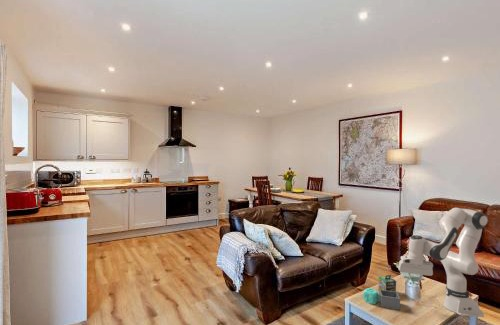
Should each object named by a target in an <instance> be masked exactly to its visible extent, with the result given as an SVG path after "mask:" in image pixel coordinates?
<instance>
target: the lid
mask: <svg viewBox="0 0 500 325" xmlns="http://www.w3.org/2000/svg"><path fill="white" fill-rule="evenodd" d="M399 274H401V276H402V277H403V279H409V275H408V273H404V272H400V271H399ZM410 276H412V280H411V281H412V282H417V283H419V282H420V281H419V278H418V277H419V276H420V275H419V274H412V273H411V275H410ZM409 280H410V279H409ZM421 281H425V278H424V276H423V277H422V278H421Z"/></svg>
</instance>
